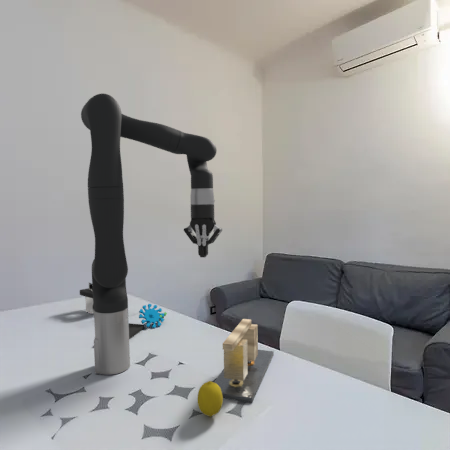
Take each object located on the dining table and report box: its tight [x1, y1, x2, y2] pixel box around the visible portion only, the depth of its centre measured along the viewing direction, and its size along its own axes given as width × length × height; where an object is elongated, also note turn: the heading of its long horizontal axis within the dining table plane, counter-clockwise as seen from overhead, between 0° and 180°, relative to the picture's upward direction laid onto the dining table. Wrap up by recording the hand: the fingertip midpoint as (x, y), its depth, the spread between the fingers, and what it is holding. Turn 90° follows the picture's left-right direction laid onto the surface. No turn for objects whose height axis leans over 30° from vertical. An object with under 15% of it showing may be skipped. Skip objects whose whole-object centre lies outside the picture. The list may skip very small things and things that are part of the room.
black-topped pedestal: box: [79, 282, 94, 314], centre depth 155 cm, size 28×26×13 cm
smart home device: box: [129, 322, 145, 340], centre depth 128 cm, size 8×2×20 cm
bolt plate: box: [213, 339, 274, 404], centre depth 100 cm, size 27×11×12 cm, turn 162°
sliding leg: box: [222, 318, 259, 361], centre depth 95 cm, size 20×5×12 cm, turn 162°
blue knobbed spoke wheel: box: [138, 303, 168, 329], centre depth 140 cm, size 11×6×10 cm
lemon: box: [197, 380, 224, 418], centre depth 80 cm, size 6×6×8 cm
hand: (203, 257), depth 118 cm, fingers closed
